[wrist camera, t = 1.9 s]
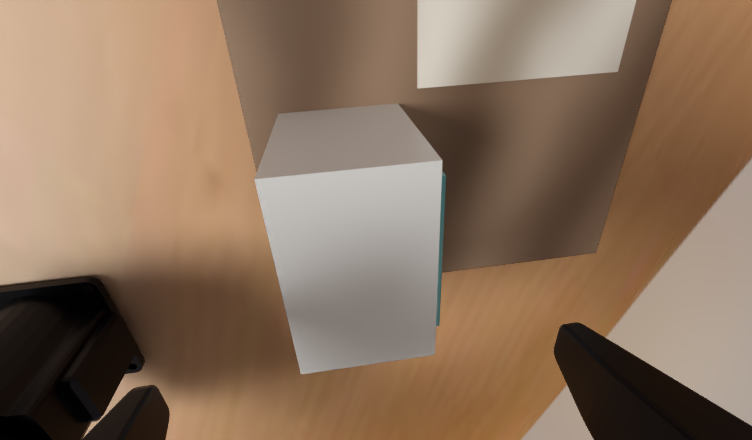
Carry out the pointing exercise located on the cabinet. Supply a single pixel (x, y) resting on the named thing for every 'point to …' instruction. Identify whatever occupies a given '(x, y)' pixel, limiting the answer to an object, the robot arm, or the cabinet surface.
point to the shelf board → (469, 101)
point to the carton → (355, 234)
